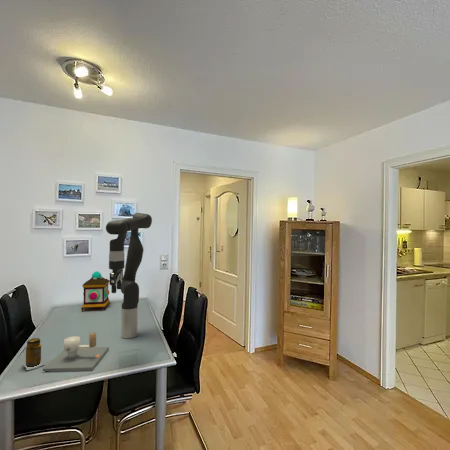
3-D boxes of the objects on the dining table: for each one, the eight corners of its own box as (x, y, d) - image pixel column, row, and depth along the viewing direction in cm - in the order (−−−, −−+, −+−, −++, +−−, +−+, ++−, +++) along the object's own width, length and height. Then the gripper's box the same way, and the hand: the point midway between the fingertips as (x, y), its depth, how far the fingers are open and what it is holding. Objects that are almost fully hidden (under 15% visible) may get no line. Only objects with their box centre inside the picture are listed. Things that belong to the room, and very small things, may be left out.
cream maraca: (59, 354, 134) (60, 337, 134) (69, 346, 143) (69, 330, 143) (91, 353, 135) (92, 337, 135) (99, 345, 144) (99, 330, 144)
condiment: (39, 360, 139) (40, 336, 139) (44, 366, 133) (45, 340, 133) (22, 365, 133) (22, 340, 134) (26, 371, 128) (26, 345, 128)
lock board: (66, 350, 149) (66, 340, 149) (108, 349, 151) (108, 340, 151) (42, 372, 127) (42, 360, 127) (92, 370, 129) (92, 359, 129)
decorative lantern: (86, 305, 235) (87, 269, 235) (111, 304, 239) (112, 269, 239) (79, 312, 215) (79, 273, 216) (106, 311, 219) (106, 272, 219)
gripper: (113, 258, 152) (113, 288, 151) (104, 261, 137) (104, 294, 137) (127, 258, 152) (127, 287, 152) (120, 261, 138) (119, 294, 138)
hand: (116, 291), depth 145 cm, fingers open, 8 cm apart
